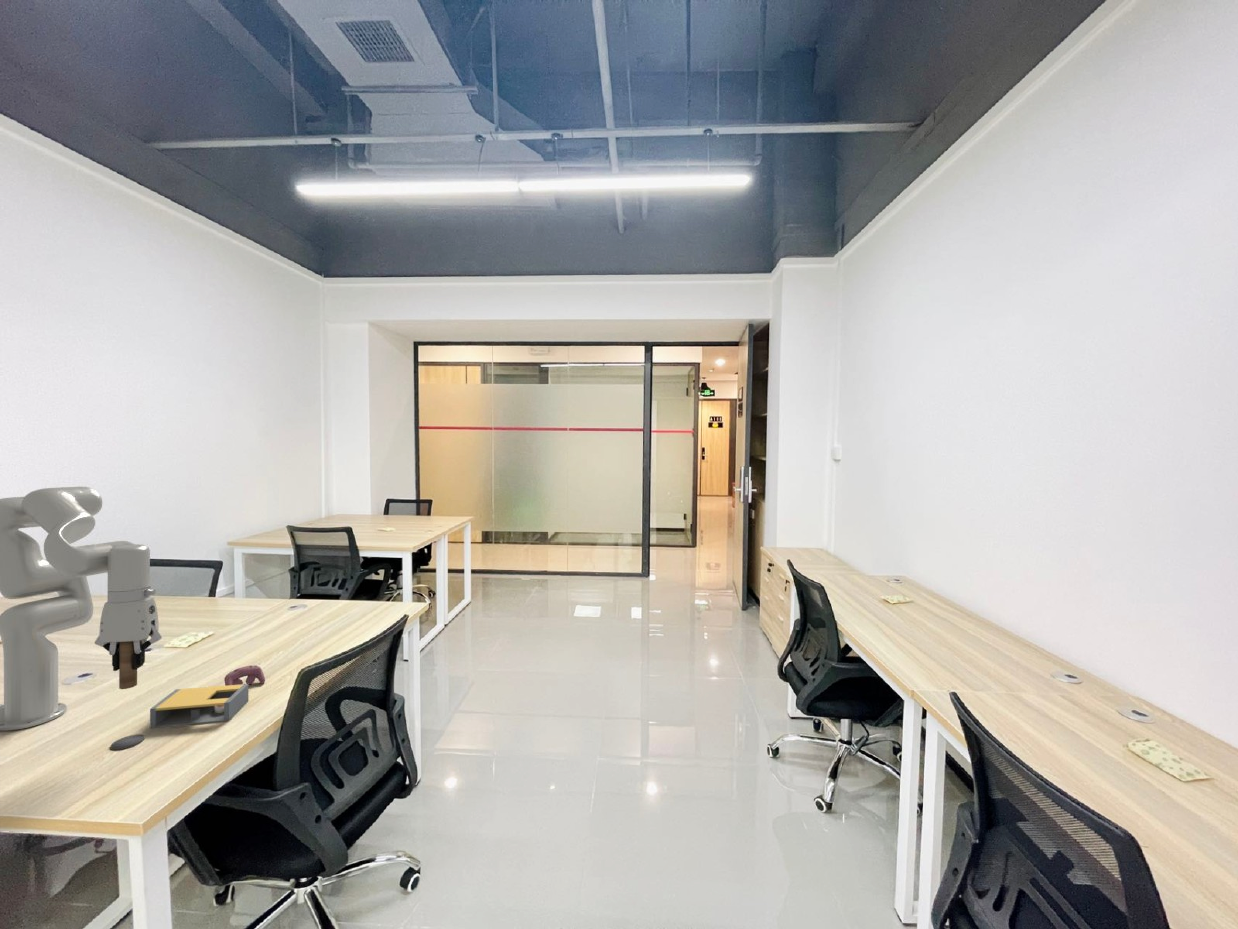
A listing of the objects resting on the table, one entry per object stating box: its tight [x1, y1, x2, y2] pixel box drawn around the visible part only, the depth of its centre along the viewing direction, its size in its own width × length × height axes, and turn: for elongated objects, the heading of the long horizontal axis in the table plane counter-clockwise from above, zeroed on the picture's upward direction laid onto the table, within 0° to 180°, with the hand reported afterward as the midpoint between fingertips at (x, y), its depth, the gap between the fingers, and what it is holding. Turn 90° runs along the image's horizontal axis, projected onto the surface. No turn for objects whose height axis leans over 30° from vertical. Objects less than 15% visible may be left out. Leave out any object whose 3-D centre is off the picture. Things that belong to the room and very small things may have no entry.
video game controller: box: [224, 665, 266, 686], centre depth 156 cm, size 10×5×7 cm, turn 141°
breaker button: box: [215, 705, 224, 713], centre depth 140 cm, size 4×4×2 cm
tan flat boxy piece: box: [149, 683, 250, 729], centre depth 139 cm, size 18×11×5 cm, turn 104°
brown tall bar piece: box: [118, 642, 138, 690], centre depth 125 cm, size 3×3×13 cm
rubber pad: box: [110, 734, 145, 751], centre depth 125 cm, size 6×6×1 cm
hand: (128, 667), depth 125 cm, fingers closed on brown tall bar piece, 3 cm apart
